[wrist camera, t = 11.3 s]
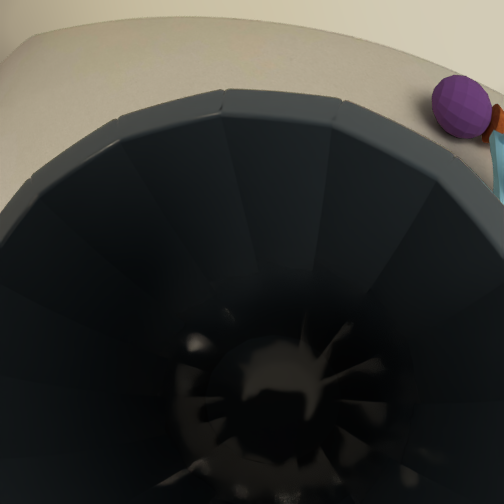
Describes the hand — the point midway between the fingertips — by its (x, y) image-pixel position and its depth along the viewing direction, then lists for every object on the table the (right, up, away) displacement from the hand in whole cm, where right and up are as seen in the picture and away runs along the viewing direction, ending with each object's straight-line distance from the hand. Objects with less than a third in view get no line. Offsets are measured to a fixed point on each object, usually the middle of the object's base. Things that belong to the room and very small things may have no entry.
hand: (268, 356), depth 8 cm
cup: (0, -4, +5) cm, 7 cm away
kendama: (+25, +12, +15) cm, 32 cm away
